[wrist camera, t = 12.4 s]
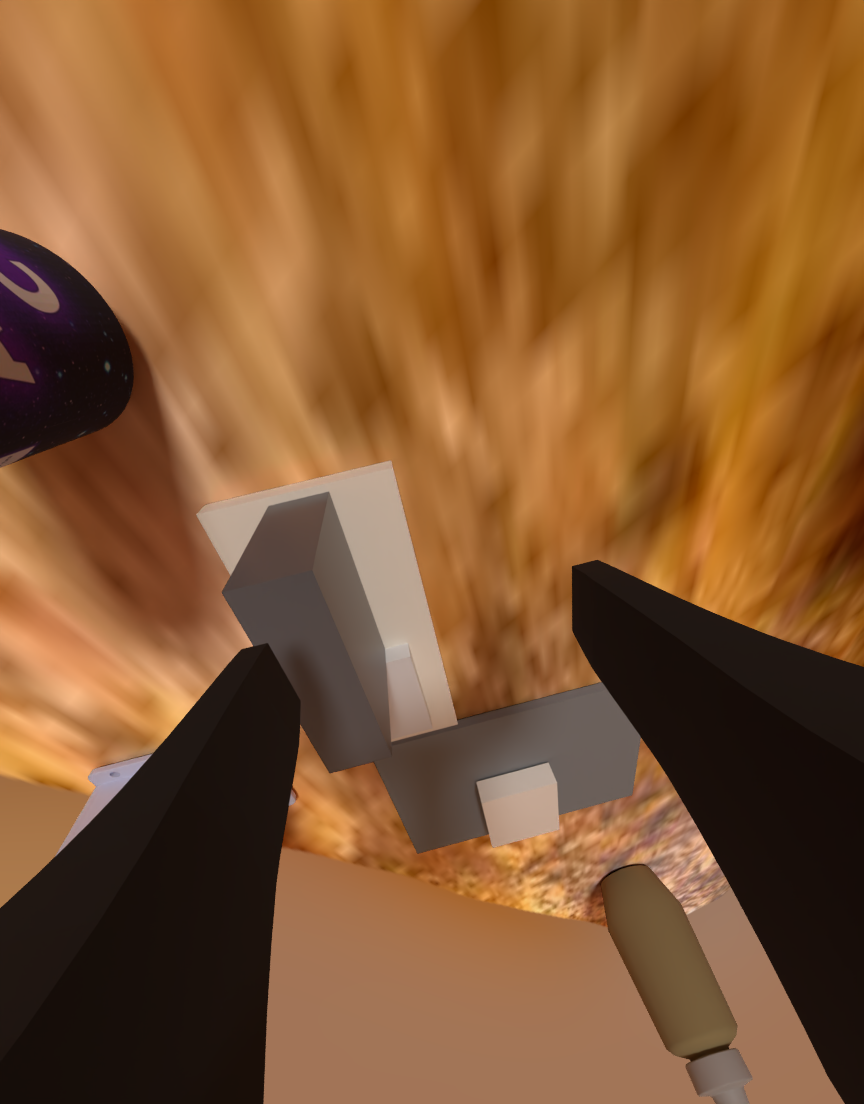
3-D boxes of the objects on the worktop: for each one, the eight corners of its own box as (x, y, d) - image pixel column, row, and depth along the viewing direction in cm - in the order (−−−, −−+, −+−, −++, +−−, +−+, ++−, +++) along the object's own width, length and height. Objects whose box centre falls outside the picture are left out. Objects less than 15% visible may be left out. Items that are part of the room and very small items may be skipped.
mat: (416, 845, 33) (417, 853, 33) (368, 743, 26) (369, 752, 25) (628, 787, 34) (632, 795, 33) (643, 671, 26) (649, 678, 26)
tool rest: (334, 742, 25) (333, 757, 24) (204, 504, 16) (195, 514, 15) (454, 710, 25) (457, 724, 24) (391, 460, 16) (392, 467, 16)
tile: (475, 779, 28) (486, 824, 32) (481, 803, 27) (492, 847, 31) (547, 760, 29) (550, 807, 32) (557, 782, 27) (559, 829, 31)
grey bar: (349, 734, 23) (345, 850, 18) (237, 513, 16) (175, 603, 10) (430, 714, 23) (448, 821, 18) (359, 484, 16) (356, 559, 11)
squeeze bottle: (576, 886, 43) (693, 1194, 28) (634, 852, 41) (797, 1167, 26) (615, 896, 47) (739, 1175, 31) (671, 864, 44) (834, 1149, 29)
